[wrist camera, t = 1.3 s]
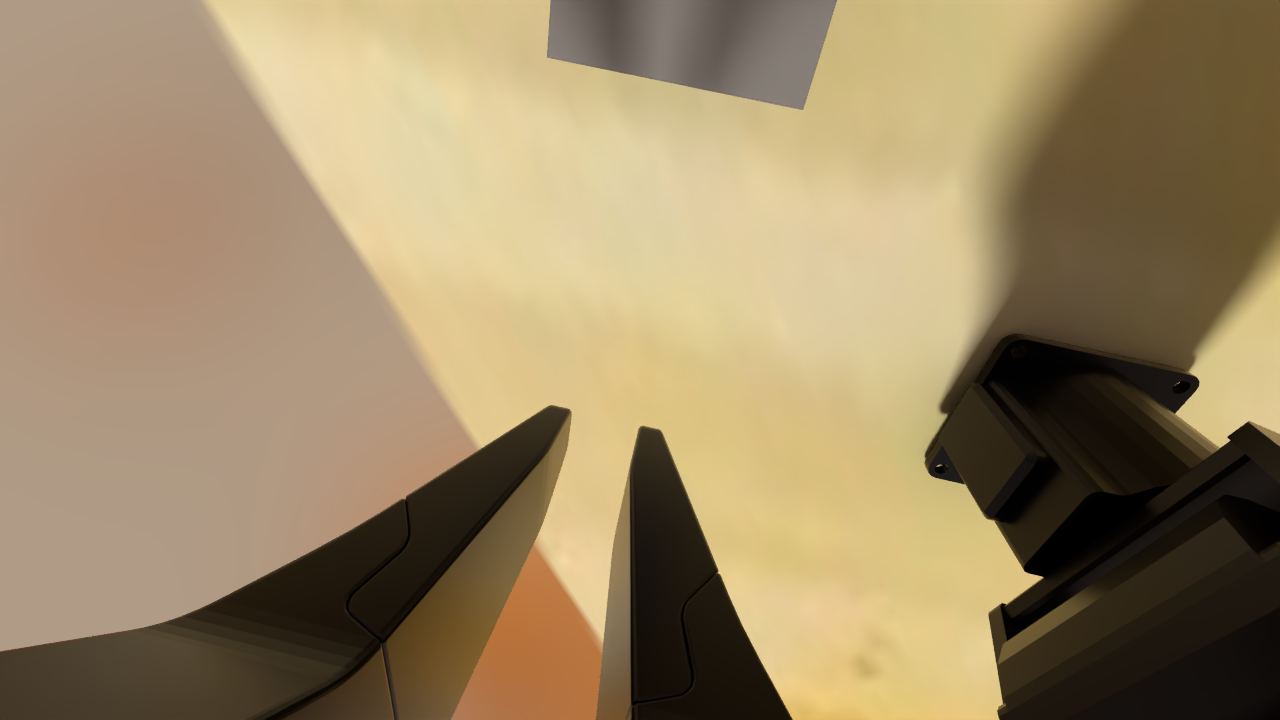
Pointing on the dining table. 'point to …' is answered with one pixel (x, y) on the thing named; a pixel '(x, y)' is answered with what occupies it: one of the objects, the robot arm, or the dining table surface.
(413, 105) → the dining table surface
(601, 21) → the doorstop
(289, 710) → the robot arm
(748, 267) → the dining table surface
